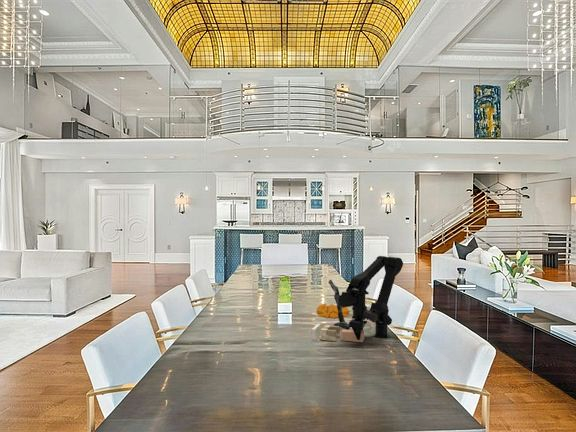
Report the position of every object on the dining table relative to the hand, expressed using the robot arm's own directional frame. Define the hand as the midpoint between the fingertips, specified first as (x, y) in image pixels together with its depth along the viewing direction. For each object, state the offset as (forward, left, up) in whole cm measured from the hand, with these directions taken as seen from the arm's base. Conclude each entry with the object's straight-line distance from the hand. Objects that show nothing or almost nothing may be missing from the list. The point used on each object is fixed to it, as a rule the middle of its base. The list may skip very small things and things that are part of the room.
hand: (359, 338), depth 191 cm
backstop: (0, -21, -1) cm, 21 cm away
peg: (0, -3, -1) cm, 3 cm away
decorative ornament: (-51, -25, -2) cm, 56 cm away
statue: (-20, -13, -2) cm, 24 cm away
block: (0, -14, -1) cm, 14 cm away
